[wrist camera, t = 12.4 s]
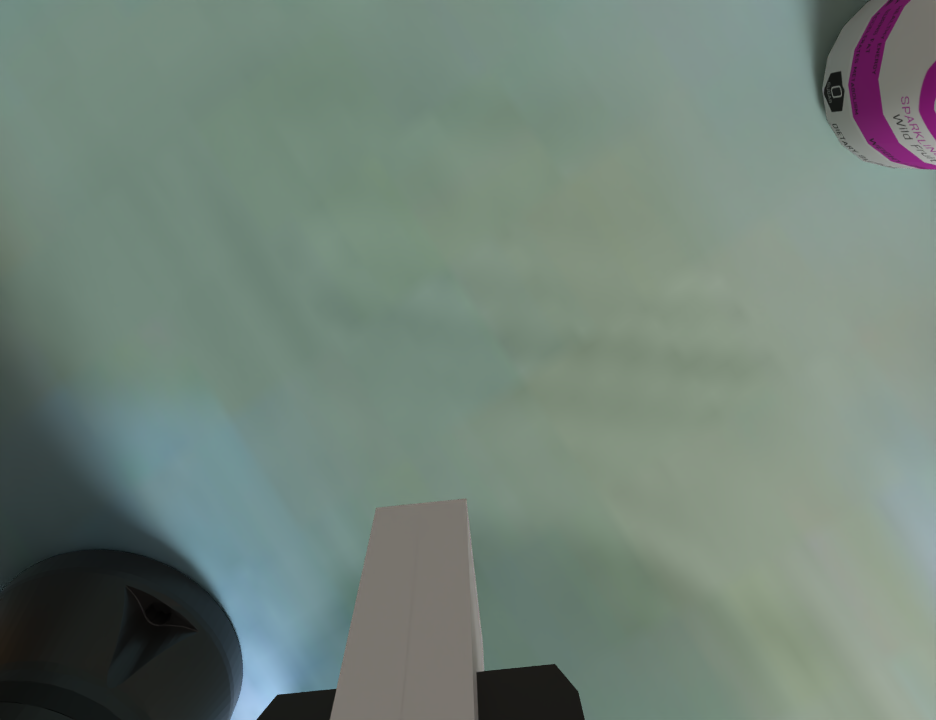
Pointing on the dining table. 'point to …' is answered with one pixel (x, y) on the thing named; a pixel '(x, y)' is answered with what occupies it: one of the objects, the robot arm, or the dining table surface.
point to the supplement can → (885, 84)
